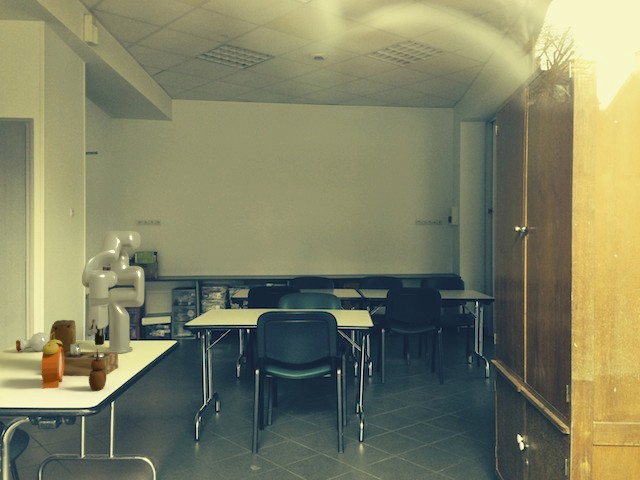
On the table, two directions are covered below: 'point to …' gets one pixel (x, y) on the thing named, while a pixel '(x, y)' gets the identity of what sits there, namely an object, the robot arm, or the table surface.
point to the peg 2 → (99, 355)
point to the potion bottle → (33, 342)
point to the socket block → (88, 363)
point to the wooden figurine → (97, 374)
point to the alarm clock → (52, 364)
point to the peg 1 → (75, 349)
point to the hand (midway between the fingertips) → (99, 344)
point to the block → (64, 333)
